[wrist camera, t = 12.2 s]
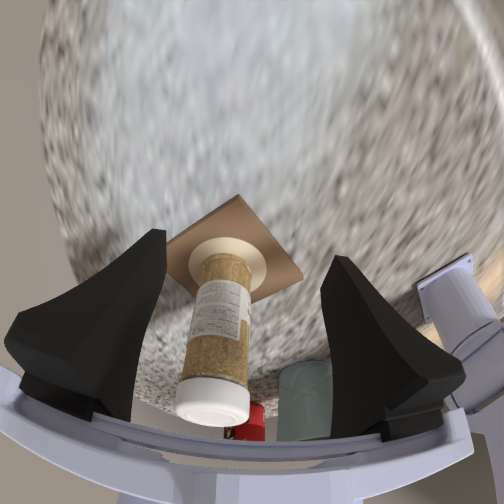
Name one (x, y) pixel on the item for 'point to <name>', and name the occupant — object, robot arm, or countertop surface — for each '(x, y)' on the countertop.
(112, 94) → the countertop surface
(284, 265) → the spice coaster
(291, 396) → the grey-green tapered cup
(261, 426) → the canned food
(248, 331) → the spice jar
